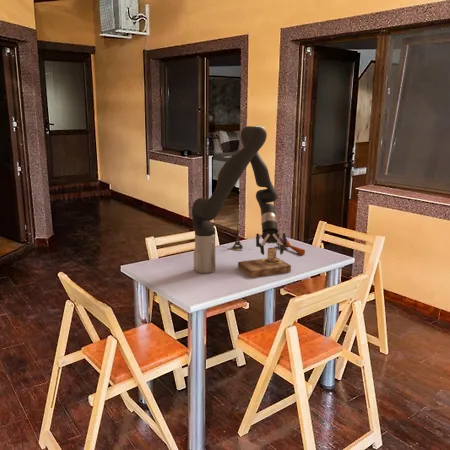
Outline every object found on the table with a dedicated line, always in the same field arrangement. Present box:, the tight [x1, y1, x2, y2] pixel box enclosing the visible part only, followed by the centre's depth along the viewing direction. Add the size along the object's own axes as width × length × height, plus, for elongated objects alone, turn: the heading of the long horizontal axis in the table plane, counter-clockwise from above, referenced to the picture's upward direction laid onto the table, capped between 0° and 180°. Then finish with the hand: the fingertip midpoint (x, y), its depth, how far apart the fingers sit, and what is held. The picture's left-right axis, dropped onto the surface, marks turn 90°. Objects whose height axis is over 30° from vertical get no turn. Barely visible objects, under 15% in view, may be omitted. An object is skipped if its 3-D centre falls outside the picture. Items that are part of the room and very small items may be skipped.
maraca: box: [279, 237, 306, 256], centre depth 251 cm, size 6×6×20 cm
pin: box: [267, 247, 277, 263], centre depth 222 cm, size 4×4×9 cm
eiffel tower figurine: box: [226, 225, 252, 252], centre depth 254 cm, size 15×10×13 cm
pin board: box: [237, 256, 292, 279], centre depth 219 cm, size 20×14×3 cm
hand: (272, 254), depth 220 cm, fingers open, 8 cm apart
